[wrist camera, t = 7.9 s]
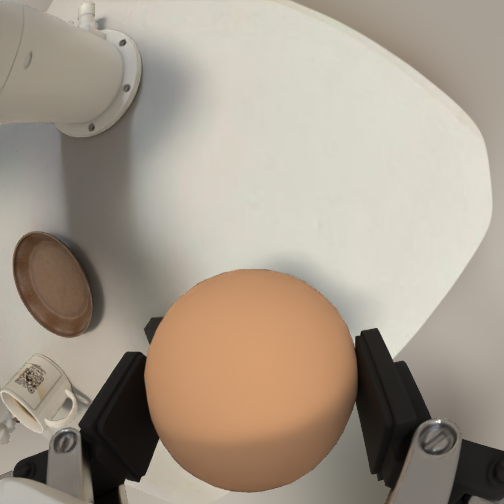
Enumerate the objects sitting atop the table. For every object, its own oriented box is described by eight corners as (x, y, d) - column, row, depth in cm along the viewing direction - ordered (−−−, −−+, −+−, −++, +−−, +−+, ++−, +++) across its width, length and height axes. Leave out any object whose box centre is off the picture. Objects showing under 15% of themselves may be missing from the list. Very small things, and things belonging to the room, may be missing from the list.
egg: (282, 206, 12) (288, 326, 4) (362, 332, 13) (413, 483, 5) (153, 293, 14) (55, 424, 6) (242, 390, 15) (219, 527, 7)
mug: (41, 344, 38) (5, 383, 27) (90, 395, 40) (62, 439, 30) (26, 363, 40) (-4, 397, 30) (69, 406, 43) (44, 444, 33)
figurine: (7, 363, 42) (-37, 412, 25) (34, 383, 42) (-10, 438, 25) (21, 402, 47) (-13, 447, 30) (46, 419, 47) (14, 469, 30)
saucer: (45, 202, 29) (31, 206, 26) (121, 287, 32) (111, 298, 29) (14, 273, 33) (3, 280, 31) (77, 343, 36) (68, 354, 34)
